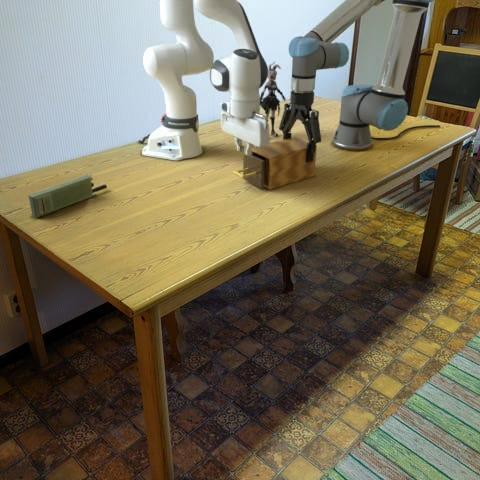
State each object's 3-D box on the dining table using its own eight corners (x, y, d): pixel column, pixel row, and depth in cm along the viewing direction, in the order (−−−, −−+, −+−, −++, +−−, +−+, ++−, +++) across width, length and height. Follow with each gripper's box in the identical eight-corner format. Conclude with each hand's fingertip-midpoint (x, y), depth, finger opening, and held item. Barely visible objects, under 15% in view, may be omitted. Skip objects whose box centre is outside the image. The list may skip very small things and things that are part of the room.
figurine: (261, 141, 202) (264, 63, 188) (251, 138, 206) (252, 61, 192) (286, 134, 211) (290, 59, 196) (276, 131, 215) (279, 57, 200)
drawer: (246, 192, 157) (246, 165, 153) (228, 183, 164) (228, 156, 159) (304, 175, 170) (306, 149, 166) (285, 167, 176) (286, 142, 172)
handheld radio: (30, 215, 144) (102, 188, 161) (37, 219, 142) (109, 191, 159) (26, 193, 140) (100, 168, 157) (33, 197, 138) (107, 171, 155)
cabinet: (269, 189, 162) (271, 157, 156) (249, 179, 169) (249, 147, 164) (314, 175, 172) (316, 145, 167) (293, 166, 180) (295, 136, 174)
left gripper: (275, 114, 144) (273, 160, 151) (233, 99, 158) (233, 142, 165) (258, 118, 141) (257, 165, 147) (216, 102, 155) (217, 146, 162)
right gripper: (337, 96, 154) (330, 164, 165) (287, 82, 170) (283, 145, 181) (319, 99, 150) (313, 169, 161) (270, 85, 167) (267, 149, 177)
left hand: (244, 152), depth 156 cm, fingers closed
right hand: (297, 156), depth 171 cm, fingers closed on cabinet, 11 cm apart
